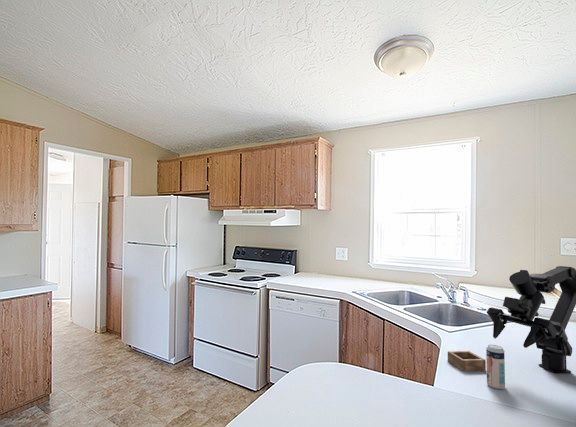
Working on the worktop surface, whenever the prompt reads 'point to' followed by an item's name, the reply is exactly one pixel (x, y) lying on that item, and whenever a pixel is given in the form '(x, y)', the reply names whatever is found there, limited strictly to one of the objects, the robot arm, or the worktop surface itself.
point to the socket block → (466, 361)
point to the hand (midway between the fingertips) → (508, 342)
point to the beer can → (495, 366)
